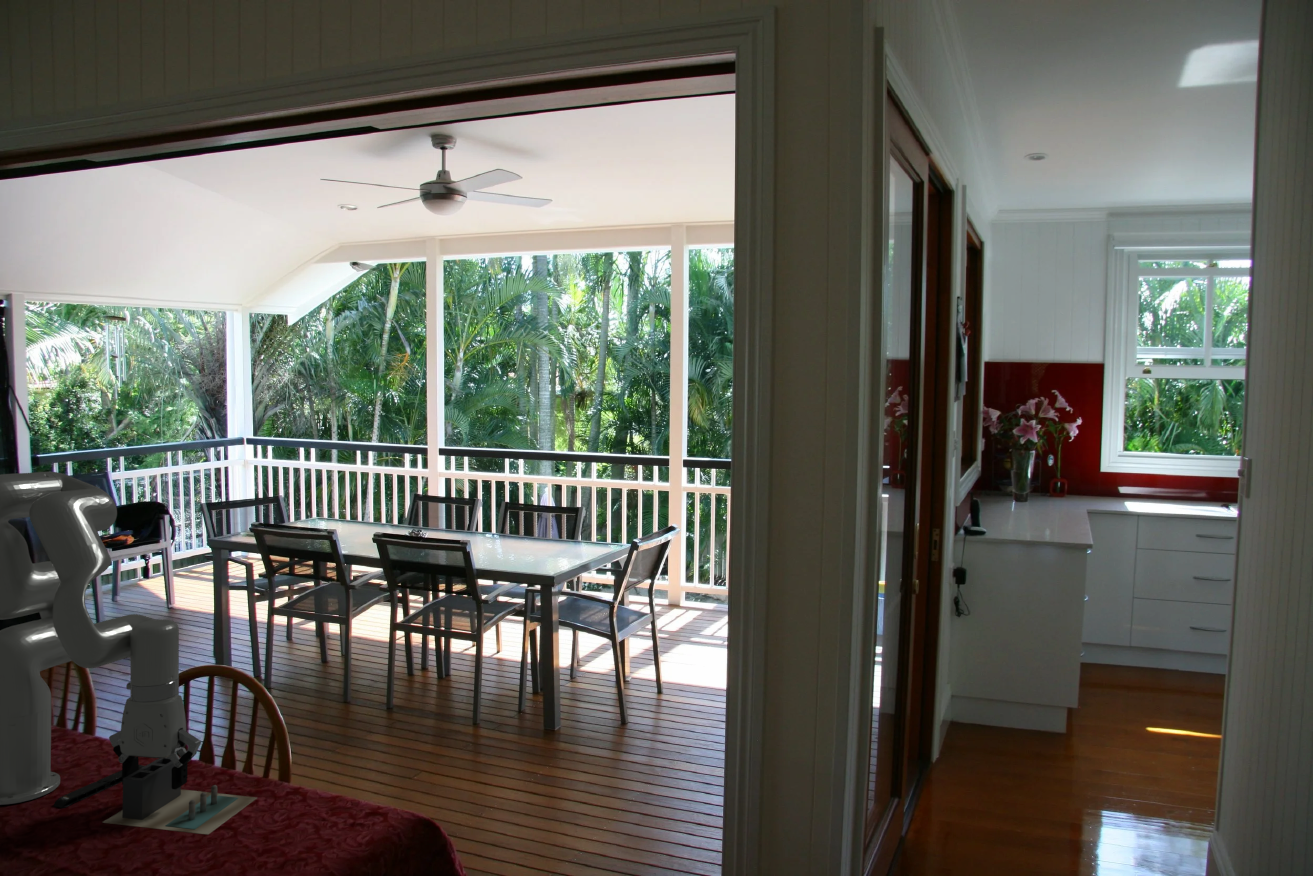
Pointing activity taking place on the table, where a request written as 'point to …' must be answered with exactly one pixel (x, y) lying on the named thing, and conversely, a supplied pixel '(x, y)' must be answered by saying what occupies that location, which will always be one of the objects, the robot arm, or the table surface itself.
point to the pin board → (190, 812)
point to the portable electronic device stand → (90, 790)
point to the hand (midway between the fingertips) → (154, 784)
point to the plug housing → (148, 789)
